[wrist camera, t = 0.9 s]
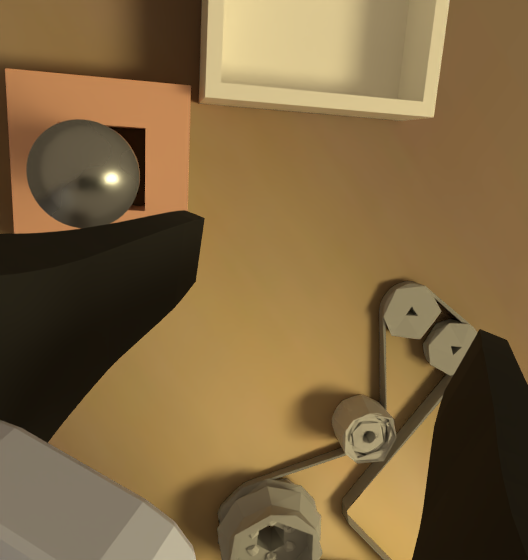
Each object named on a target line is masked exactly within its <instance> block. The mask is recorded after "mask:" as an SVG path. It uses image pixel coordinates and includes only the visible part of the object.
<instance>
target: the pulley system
mask: <svg viewBox="0 0 528 560" xmlns="http://www.w3.org/2000/svg"><path fill="white" fill-rule="evenodd" d="M436 301H438V302H439V303H440V304H441V305H442V306H443V307H444V308H445V309H446V310H448V311H449V312H450V313H451V314H452V315H453V316H454V317H455V318H456V319H458V320H459V321H460V322H459V321H457V320H453V319H452V318H451V319H448V320H445V321H442V322H439V323H436V324H435V325H434V327H433V329H432V330H431V332H430V333H429V335H428V337H427V338H426V340H425V341H424V343H423V350H424V355H425V357H426V360H427V361H428V362H430V365H432V366H434V367H436V368H437V369H439V370H441V371H443V372H444V373H446V375H445V377H444V378H443V379H442V380H441V381H440V383H439V384H438V385H437V386H436V387H435V389H434V390H433V391H432V392H431V393H430V395H429V396H428V397H427V398H426V399H425V400H424V402H423V403H422V404H421V405H420V406H419V408H418V409H417V410H416V411H415V412H414V414H413V415H412V416H411V417H410V418H409V420H408V421H407V422H406V423H405V424H404V426H403V427H402V428H401V429H400V430H399V432H398V433H397V434H396V431H395V425H394V419H393V418H392V416H391V415H390V414H389V413H388V412H387V411H386V325H387V326H388V329H389V331H390V333H391V335H392V336H398V337H405V338H411V339H421V338H422V336H423V335H424V334H425V333H426V331H427V330H428V329H429V327H430V326H431V325H432V324H433V322H434V321H435V320H436V318H437V317H438V315H439V314H440V313H441V310H440V308H439V306H438V304H437V302H436ZM410 309H411V311H409V310H410ZM476 335H477V331H476V330H475V329H474V327H473V326H471V325H470V324H469V323H468V322H467V321H466V320H464V319H463V318H462V317H461V316H460V315H459V314H457V313H456V312H455V311H454V310H453V309H451V308H450V307H449V306H448V305H447V304H446V303H444V302H443V301H442V300H441V299H440V298H439V297H437V296H436V295H435V294H434V293H433V292H432V291H430V290H429V289H428V288H427V287H426V286H424V285H421V284H417V283H415V282H413V281H405V282H401V283H398V284H396V285H394V286H393V287H391V288H390V289H389V290H388V291H387V293H386V294H385V295H384V297H383V298H382V300H381V303H380V309H379V340H380V403H379V402H378V401H376V400H374V399H372V398H370V397H367V396H365V395H356V396H353V397H350V398H348V399H345V400H342V402H341V403H340V404H339V405H338V406H337V408H336V409H335V412H334V414H333V415H332V427H333V429H334V433H335V435H336V437H337V439H338V441H339V443H340V445H341V447H342V448H339V449H336V450H333V451H331V452H328V453H325V454H322V455H319V456H317V457H314V458H311V459H308V460H305V461H303V462H300V463H297V464H294V465H291V466H289V467H286V468H283V469H280V470H277V471H274V472H272V473H269V474H266V475H263V476H260V477H258V478H255V479H252V480H249V481H246V482H244V483H243V484H242V485H241V486H239V487H238V488H237V489H236V490H235V491H234V492H233V493H232V494H231V495H230V496H229V497H228V498H227V499H226V500H225V501H224V502H223V503H222V504H221V506H220V508H219V511H218V519H219V527H218V528H217V531H218V544H219V545H220V551H221V557H222V560H320V557H321V555H322V549H321V545H320V535H321V515H320V514H319V513H318V512H317V509H316V505H315V501H314V499H313V498H312V497H311V496H310V494H309V493H308V492H307V491H306V490H305V489H304V488H303V487H302V486H300V485H295V484H294V483H292V482H291V481H290V480H288V479H277V478H280V477H283V476H286V475H289V474H292V473H295V472H298V471H300V470H303V469H306V468H309V467H312V466H315V465H318V464H321V463H324V462H327V461H330V460H333V459H336V458H339V457H342V456H345V455H347V456H349V457H350V458H351V459H352V460H354V461H355V462H356V463H369V462H373V463H372V464H371V465H370V466H369V467H368V469H367V470H366V471H365V472H364V473H363V475H362V476H361V477H360V478H359V479H358V481H357V482H356V483H355V484H354V485H353V487H352V488H351V489H350V490H349V491H348V493H347V494H346V495H345V496H344V497H343V499H342V514H343V515H344V517H345V519H346V520H347V522H348V524H349V525H350V526H351V527H352V528H353V529H354V530H355V531H356V532H357V533H358V534H359V535H360V536H361V537H362V538H363V539H364V540H365V541H366V542H367V543H368V544H369V545H370V546H371V547H372V549H373V550H374V551H375V552H376V553H377V554H378V555H379V556H380V557H381V558H382V559H383V560H392V559H391V558H390V557H389V556H388V555H387V554H386V553H385V552H384V551H383V550H382V549H381V548H380V547H379V546H378V545H377V544H376V543H375V542H374V541H373V540H372V539H371V538H370V537H369V536H368V535H367V534H366V533H365V532H364V531H363V530H362V529H361V528H360V527H359V526H358V525H357V524H356V523H355V522H354V521H353V520H352V519H351V518H350V517H349V516H348V515H347V510H348V509H349V507H350V506H351V505H352V504H353V503H354V502H355V500H356V499H357V498H358V497H359V496H360V495H361V493H362V492H363V491H364V490H365V489H366V488H367V486H368V485H369V484H370V483H371V482H372V481H373V479H374V478H375V477H376V476H377V475H378V474H379V472H380V471H381V470H382V469H383V468H384V467H385V465H386V464H387V463H388V462H389V461H390V460H391V458H392V457H393V456H394V455H395V454H396V453H397V451H398V450H399V449H400V448H401V447H402V446H403V444H404V443H405V442H406V441H407V440H408V439H409V437H410V436H411V435H412V434H413V433H414V432H415V430H416V429H417V428H418V427H419V426H420V425H421V423H422V422H423V421H424V420H425V419H426V418H427V416H428V415H429V414H430V413H431V412H432V411H433V409H434V408H435V407H436V406H437V405H438V404H439V402H440V401H441V400H442V397H443V394H444V391H445V389H446V387H447V385H448V384H449V382H450V380H451V378H452V377H453V375H454V373H455V371H456V370H457V368H458V366H459V364H460V363H461V361H462V359H463V357H464V356H465V354H466V352H467V350H468V349H469V347H470V345H471V343H472V342H473V340H474V338H475V336H476ZM275 479H277V480H275ZM273 525H274V526H273ZM267 526H273V527H267Z"/></svg>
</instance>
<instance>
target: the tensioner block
mask: <svg viewBox="0 0 528 560" xmlns="http://www.w3.org/2000/svg"><path fill="white" fill-rule="evenodd" d="M5 77H6V95H7V113H8V131H9V149H10V167H11V185H12V203H13V221H14V234H18V233H42V232H55V231H65V230H74V229H81V228H76V227H71V226H68V225H65V224H63V223H61V222H59V221H57V220H55V219H54V218H52V217H51V216H50V215H48V214H47V213H46V212H45V211H44V210H43V209H42V208H41V207H40V206H39V204H38V203H37V202H36V200H35V199H34V197H33V195H32V193H31V191H30V188H29V185H28V181H27V174H26V165H27V159H28V155H29V152H30V150H31V148H32V146H33V144H34V142H35V141H36V139H37V138H38V137H39V136H40V135H41V134H42V133H43V132H44V131H45V130H47V129H48V128H50V127H51V126H53V125H55V124H57V123H60V122H63V121H67V120H74V119H83V120H91V121H94V122H98V123H100V124H103V125H105V126H107V127H116V128H130V129H144V130H146V134H145V206H135V205H131V206H130V208H129V209H128V210H127V212H126V213H125V214H124V215H123V216H121V217H120V218H119V219H117V220H116V221H114V222H112V223H117V222H122V221H127V220H132V219H137V218H142V217H147V216H151V215H156V214H161V213H167V212H173V211H181V210H185V211H188V179H189V141H190V104H191V85H180V84H169V83H158V82H148V81H137V80H126V79H115V78H105V77H94V76H83V75H72V74H62V73H51V72H40V71H29V70H19V69H8V68H5ZM110 224H111V223H110Z"/></svg>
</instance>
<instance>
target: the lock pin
mask: <svg viewBox="0 0 528 560" xmlns="http://www.w3.org/2000/svg"><path fill="white" fill-rule="evenodd" d="M26 174H27V181H28V185H29V188H30V191H31V193H32V195H33V197H34V199H35V200H36V202H37V203H38V204H39V206H40V207H41V208H42V209H43V210H44V211H45V212H46V213H47V214H48V215H50V216H51V217H52V218H54V219H55V220H57V221H59V222H61V223H63V224H65V225H68V226H71V227H76V228H87V227H93V226H99V225H105V224H110V223H112V222H114V221H116V220H117V219H119V218H120V217H121V216H123V215H124V214H125V213H126V212H127V210H128V209H129V208H130V206H131V205H132V203H133V201H134V200H135V197H136V194H137V192H138V188H139V183H140V169H139V164H138V161H137V158H136V155H135V153H134V151H133V150H132V148H131V146H130V145H129V144H128V142H127V141H126V140H125V139H124V138H123V137H122V136H121V135H120V134H118V133H117V132H116V131H114V130H113V129H111V128H109V127H107V126H105V125H103V124H100V123H98V122H94V121H91V120H83V119H74V120H67V121H63V122H60V123H57V124H55V125H53V126H51V127H50V128H48V129H47V130H45V131H44V132H43V133H42V134H41V135H40V136H39V137H38V138H37V139H36V141H35V142H34V144H33V146H32V148H31V150H30V152H29V155H28V159H27V165H26Z"/></svg>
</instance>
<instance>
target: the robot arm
mask: <svg viewBox="0 0 528 560" xmlns="http://www.w3.org/2000/svg"><path fill="white" fill-rule="evenodd" d="M203 225H204V218H203V217H200V216H198V215H195V214H193V213H190V212H188V211H185V210H181V211H173V212H167V213H161V214H156V215H151V216H147V217H142V218H137V219H132V220H127V221H122V222H117V223H111V224H105V225H99V226H93V227H87V228H81V229H74V230H65V231H55V232H42V233H18V234H0V560H196V557H195V552H194V549H193V546H192V544H191V543H190V542H189V540H188V539H187V538H186V536H185V535H184V533H183V532H182V531H181V529H180V528H179V527H178V525H177V524H176V523H175V521H173V520H172V519H171V518H170V517H168V516H167V515H166V514H164V513H163V512H162V511H160V510H159V509H158V508H157V507H155V506H154V505H153V504H151V503H150V502H149V501H147V500H146V499H144V498H142V497H141V496H139V495H137V494H135V493H134V492H132V491H130V490H128V489H127V488H125V487H123V486H122V485H120V484H118V483H116V482H115V481H113V480H111V479H109V478H108V477H106V476H104V475H102V474H101V473H99V472H97V471H96V470H94V469H92V468H90V467H89V466H87V465H85V464H83V463H82V462H80V461H78V460H76V459H75V458H73V457H71V456H69V455H68V454H66V453H64V452H63V451H61V450H59V449H57V448H56V447H54V446H52V445H50V444H49V443H48V441H49V440H50V439H51V438H52V436H53V435H54V434H55V432H56V431H57V430H58V429H59V427H60V426H61V425H62V423H63V422H64V421H65V420H66V418H67V417H68V416H69V415H70V414H71V412H72V411H73V410H74V409H75V408H76V406H77V405H78V404H79V403H80V402H81V400H82V399H83V398H84V397H85V395H86V394H87V393H88V392H89V391H90V390H91V389H92V387H93V386H94V385H95V384H96V383H97V382H98V381H99V379H100V378H101V377H102V376H103V375H104V374H105V373H106V371H107V370H108V369H109V368H110V367H111V366H112V365H113V364H114V363H115V362H116V361H117V360H118V359H119V358H120V357H121V356H122V355H124V354H125V353H126V352H127V351H128V350H129V349H130V348H131V347H132V346H133V345H135V344H136V343H137V342H138V341H139V340H140V339H141V338H142V337H143V336H144V335H146V334H147V333H148V332H149V331H150V330H151V329H152V328H153V327H154V326H155V325H157V324H158V323H159V322H160V321H161V320H162V319H163V318H164V317H165V316H166V315H167V314H168V313H169V312H170V311H171V310H173V309H174V308H175V306H176V305H177V304H178V303H179V302H180V301H181V299H182V298H183V297H184V296H185V294H186V293H187V292H188V291H189V289H190V288H191V287H192V285H193V284H194V283H195V282H196V275H197V268H198V261H199V254H200V246H201V239H202V232H203ZM412 560H528V385H527V383H526V380H525V378H524V376H523V374H522V372H521V370H520V368H519V365H518V363H517V361H516V359H515V356H514V354H513V352H512V350H511V348H510V345H509V343H508V341H507V340H505V339H503V338H500V337H498V336H496V335H493V334H491V333H488V332H486V331H483V330H481V329H480V330H479V331H478V333H477V335H476V336H475V338H474V340H473V342H472V343H471V345H470V347H469V349H468V350H467V352H466V354H465V356H464V357H463V359H462V361H461V363H460V364H459V366H458V368H457V370H456V371H455V373H454V375H453V377H452V378H451V380H450V382H449V384H448V385H447V387H446V389H445V391H444V394H443V397H442V400H441V404H440V407H439V411H438V415H437V418H436V422H435V426H434V432H433V439H432V446H431V453H430V461H429V469H428V476H427V484H426V492H425V499H424V507H423V513H422V519H421V524H420V530H419V534H418V538H417V542H416V546H415V550H414V554H413V558H412Z"/></svg>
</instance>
